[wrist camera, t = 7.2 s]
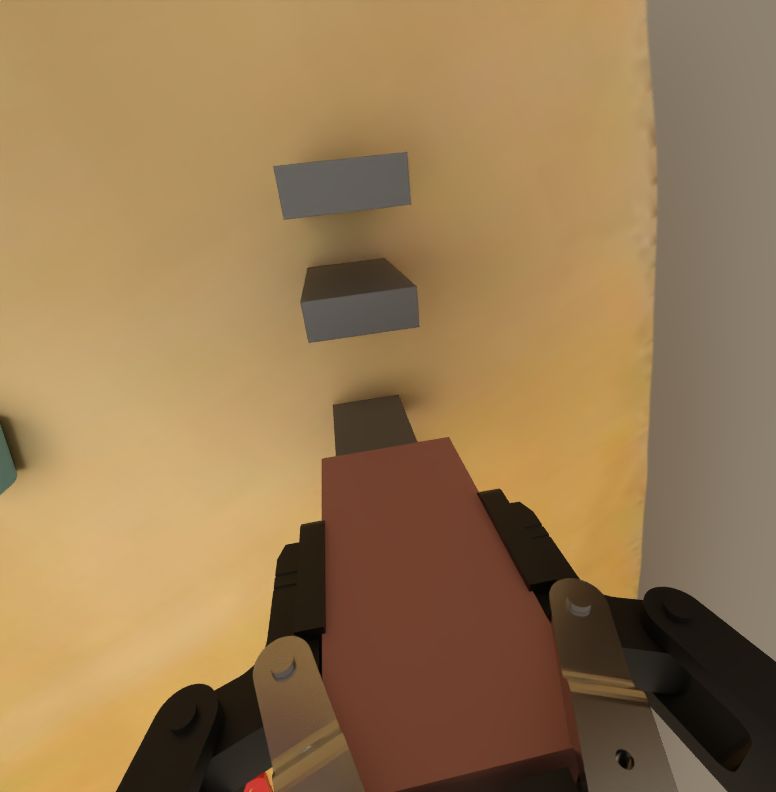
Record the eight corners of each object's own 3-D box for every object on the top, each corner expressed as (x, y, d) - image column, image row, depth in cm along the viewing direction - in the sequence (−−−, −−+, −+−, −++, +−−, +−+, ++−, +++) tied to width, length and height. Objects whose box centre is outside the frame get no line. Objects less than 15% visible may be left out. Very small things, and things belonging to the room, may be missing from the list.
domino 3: (333, 405, 30) (337, 489, 21) (398, 394, 31) (429, 473, 22) (336, 425, 31) (343, 515, 22) (400, 415, 32) (431, 498, 23)
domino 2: (307, 267, 26) (300, 302, 17) (384, 258, 26) (416, 286, 17) (312, 296, 27) (308, 343, 18) (387, 285, 27) (419, 326, 18)
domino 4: (321, 458, 15) (322, 809, 6) (448, 437, 16) (612, 737, 7) (329, 495, 16) (339, 853, 7) (450, 474, 17) (599, 786, 8)
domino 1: (291, 180, 24) (273, 166, 15) (375, 170, 24) (407, 152, 15) (297, 213, 24) (283, 219, 16) (378, 204, 25) (410, 204, 16)
